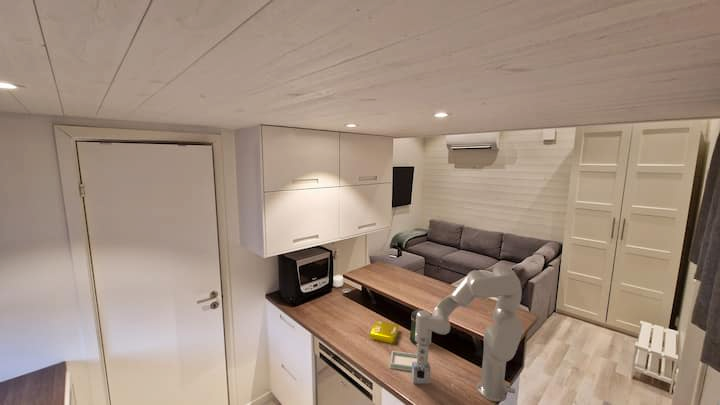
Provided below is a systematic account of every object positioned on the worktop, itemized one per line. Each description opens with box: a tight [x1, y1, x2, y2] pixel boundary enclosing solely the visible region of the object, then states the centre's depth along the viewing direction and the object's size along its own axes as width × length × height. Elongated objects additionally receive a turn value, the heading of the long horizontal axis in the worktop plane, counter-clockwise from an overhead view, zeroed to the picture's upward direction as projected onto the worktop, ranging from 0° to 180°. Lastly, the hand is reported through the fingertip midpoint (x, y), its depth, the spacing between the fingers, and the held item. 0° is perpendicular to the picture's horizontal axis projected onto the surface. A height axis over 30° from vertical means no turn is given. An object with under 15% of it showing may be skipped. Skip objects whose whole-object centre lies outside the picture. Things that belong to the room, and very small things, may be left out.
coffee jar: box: [409, 308, 424, 345], centre depth 171 cm, size 10×8×19 cm
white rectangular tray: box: [389, 350, 417, 372], centre depth 153 cm, size 15×11×2 cm
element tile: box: [369, 320, 400, 345], centre depth 177 cm, size 15×15×5 cm
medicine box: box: [411, 361, 431, 384], centre depth 140 cm, size 8×4×9 cm, turn 92°
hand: (420, 370), depth 140 cm, fingers open, 9 cm apart
